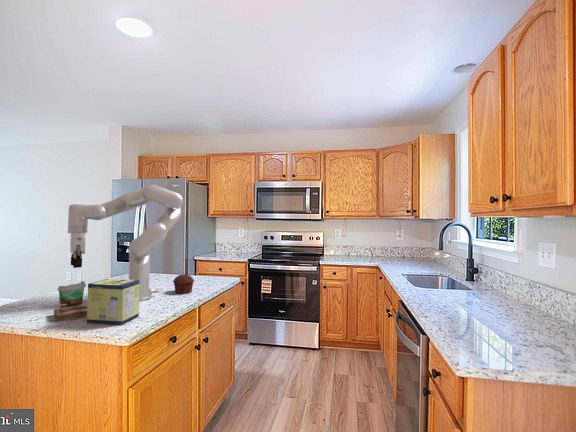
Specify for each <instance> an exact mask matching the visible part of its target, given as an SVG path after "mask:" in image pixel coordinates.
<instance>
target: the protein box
mask: <svg viewBox="0 0 576 432" xmlns="http://www.w3.org/2000/svg"><path fill="white" fill-rule="evenodd" d="M86 303H87V317H86V323H87V324H95V325H98V324H99V325H114V326H116V325H117V326H123V325H124V324H126V323H129V322H130V321H132V320H135V319H136V318H137V319H138V318H139V316H140V314H139V313H140V301H139V280H129V279H120V278H119V279H116V278H105V279H102V280H98V281H94V282H89V283H87V301H86Z"/></svg>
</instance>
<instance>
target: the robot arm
mask: <svg viewBox="0 0 576 432" xmlns="http://www.w3.org/2000/svg"><path fill="white" fill-rule="evenodd" d="M150 203H157V204H160V205H162V206H165V210H164V211H163V213H162V214H161V215H160V216H158V217H157V219H156V220H154V221H153V222H152V223H151V224H149V225H148V226H147V228H146V229H145V230H144V231H143V232H142V233H141V234H140V235H139V236H138V237H136V238H134V239H133V240H131V242H130V244H129V247H128V248H129V250H128V251H129V253H128V255H129V256H128V257H129V258H128V262H129V264H128V280H139V302H141V301H145V300H146V301H147V300H149V299H151V298H152V297H153V295H152V294H157V293H159V292H160V291H159V288H150V267H151V266H150V265H151V264H150V263H151V262H150V260H151V259H150V258H151V257H150V256H151V255H150V254H151V253H152V252H153V251H154V250H155V249H156V248H157V247H158V246H159V245H160V244H161V243H162V242H163V241H164V240H165V239H166V237H167V235H168V232H169V231H170V230H171V229H172V228H173V227H174V225H176V223H177V222H178V221H179V220H180V218H181V215H182V206H183V204H184V198H183V197H182V195H181V194H179V193H178V192H175V191H174V190H173V191H172V190H170V189H167V188H165V187H162V186H160V185H156V184H147V185H146V186H144V187H142V188H139V189H136V190H133V191H130V192H127V193H124V194H121V195H120V196H118V197H117V198H114V199H112V200H109V201H107V202H103V203H101V204H87V205H86V204H81V203H80V204H78V203H77V204H76V203H75V204H74V203H73V204H70V205H69V206H68V218H67V219H68V220H67V221H68V222H67V234H70V243H69V245H70V247H69V248H70V253H71V255H70V256H71V257H70V266H72V267H73V268H74V269H75V268H83V255H85V254H86V234H88V223H89V220H91V221H93V220H94V221H101V220H105V219H107V218H110V217H113V216H115V215H119V214H121V213H124V212H129V211H131V210H134V209H136V208H140V207H142V206H143V207H144V206H145V205H148V204H150Z"/></svg>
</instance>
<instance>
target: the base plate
mask: <svg viewBox="0 0 576 432" xmlns="http://www.w3.org/2000/svg"><path fill="white" fill-rule="evenodd" d="M53 318H54V321H55V323H58V322H59V323H60V322H65V321H71V320H76V319H83V318H87V304H81V305H78V306H73V307H63V308H62V307H59V308H54V309H53Z"/></svg>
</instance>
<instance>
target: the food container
mask: <svg viewBox="0 0 576 432" xmlns="http://www.w3.org/2000/svg"><path fill="white" fill-rule="evenodd" d="M86 287H87V285H86V282H85V281H84V280H81V281H80V282H79V283H75V284H74V283H71V284H68V285H58V287H57V291H58V295H59V296H58V297H59V308H66V307H73V306H80V305H83V300H84V294H85V288H86Z"/></svg>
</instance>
